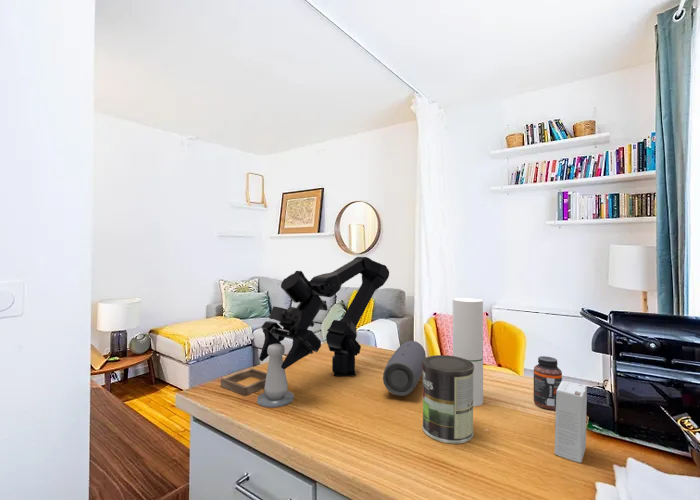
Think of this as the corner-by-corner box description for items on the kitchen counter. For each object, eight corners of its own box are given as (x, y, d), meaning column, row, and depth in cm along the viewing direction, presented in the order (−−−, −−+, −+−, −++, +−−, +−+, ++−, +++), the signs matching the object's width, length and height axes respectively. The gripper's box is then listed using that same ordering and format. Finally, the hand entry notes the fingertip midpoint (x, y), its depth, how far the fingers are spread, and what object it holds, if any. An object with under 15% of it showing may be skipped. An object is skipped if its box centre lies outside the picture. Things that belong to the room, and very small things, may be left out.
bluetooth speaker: (418, 403, 83) (418, 362, 83) (380, 398, 86) (380, 358, 86) (427, 372, 105) (427, 340, 105) (397, 369, 108) (397, 337, 108)
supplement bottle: (559, 413, 78) (558, 364, 78) (530, 405, 82) (530, 358, 82) (564, 405, 82) (564, 358, 82) (537, 397, 86) (537, 353, 86)
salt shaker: (285, 390, 89) (285, 340, 89) (290, 399, 84) (290, 346, 84) (262, 393, 87) (262, 343, 87) (266, 403, 82) (266, 349, 82)
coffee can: (427, 444, 66) (427, 370, 66) (418, 418, 76) (418, 354, 76) (481, 445, 65) (481, 371, 65) (465, 418, 76) (465, 355, 76)
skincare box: (559, 441, 67) (559, 379, 67) (587, 449, 64) (587, 384, 64) (553, 455, 62) (553, 388, 62) (583, 465, 59) (583, 395, 59)
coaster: (295, 391, 90) (295, 389, 90) (291, 407, 81) (291, 404, 81) (261, 392, 90) (261, 390, 90) (253, 408, 81) (253, 405, 81)
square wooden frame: (252, 375, 102) (252, 368, 102) (276, 382, 96) (276, 375, 96) (220, 386, 94) (220, 379, 94) (244, 395, 88) (244, 388, 88)
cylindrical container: (484, 397, 87) (483, 298, 87) (482, 408, 80) (481, 302, 81) (455, 392, 90) (454, 297, 90) (450, 403, 83) (450, 300, 84)
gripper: (267, 291, 95) (230, 339, 86) (312, 297, 82) (274, 353, 74) (289, 316, 101) (257, 362, 92) (335, 325, 88) (302, 379, 80)
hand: (271, 364), depth 84 cm, fingers open, 9 cm apart
